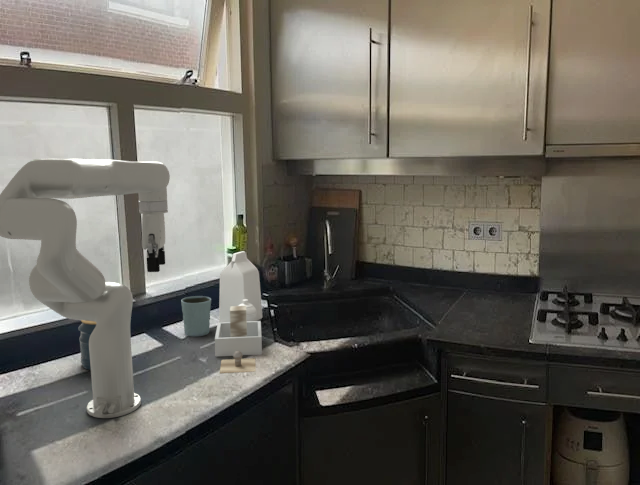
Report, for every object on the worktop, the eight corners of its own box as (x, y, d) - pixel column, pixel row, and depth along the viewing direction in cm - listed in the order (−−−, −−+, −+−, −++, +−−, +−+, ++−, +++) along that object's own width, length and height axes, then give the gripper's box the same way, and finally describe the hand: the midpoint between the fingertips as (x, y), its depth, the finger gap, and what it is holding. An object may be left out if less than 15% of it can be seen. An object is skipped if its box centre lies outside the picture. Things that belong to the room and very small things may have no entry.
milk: (245, 326, 195) (243, 256, 190) (219, 322, 199) (216, 254, 195) (262, 317, 205) (261, 251, 201) (237, 314, 210) (235, 248, 206)
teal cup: (177, 335, 185) (175, 302, 183) (191, 326, 195) (189, 294, 193) (204, 338, 183) (203, 304, 181) (216, 328, 192) (215, 296, 190)
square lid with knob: (255, 376, 151) (255, 356, 150) (219, 378, 150) (219, 358, 149) (255, 362, 161) (255, 344, 160) (221, 364, 160) (221, 345, 159)
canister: (82, 358, 165) (78, 302, 162) (127, 352, 169) (123, 298, 167) (79, 374, 153) (75, 314, 150) (128, 367, 157) (124, 309, 155)
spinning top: (254, 328, 193) (253, 296, 191) (259, 335, 186) (258, 301, 184) (233, 330, 190) (232, 297, 188) (237, 337, 183) (236, 303, 181)
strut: (231, 350, 168) (229, 310, 166) (231, 345, 173) (230, 306, 171) (247, 350, 169) (246, 310, 167) (247, 344, 174) (246, 305, 171)
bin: (261, 358, 164) (261, 336, 163) (215, 361, 162) (214, 339, 161) (260, 340, 180) (260, 320, 179) (218, 342, 178) (217, 322, 177)
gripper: (145, 204, 156) (148, 262, 159) (132, 210, 139) (136, 275, 142) (171, 204, 157) (174, 261, 160) (162, 210, 140) (165, 274, 143)
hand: (156, 268), depth 151 cm, fingers open, 9 cm apart
